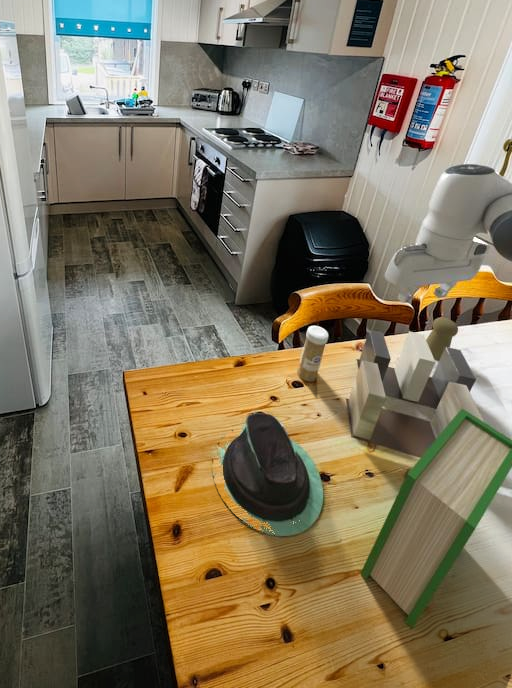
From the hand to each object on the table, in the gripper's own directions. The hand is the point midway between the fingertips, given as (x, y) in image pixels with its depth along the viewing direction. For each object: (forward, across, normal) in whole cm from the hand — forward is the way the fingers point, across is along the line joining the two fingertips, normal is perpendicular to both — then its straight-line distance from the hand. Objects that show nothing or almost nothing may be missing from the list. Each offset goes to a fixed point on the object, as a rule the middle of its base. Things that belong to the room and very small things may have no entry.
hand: (421, 298), depth 85 cm
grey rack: (+24, +2, -2) cm, 24 cm away
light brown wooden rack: (+24, -9, -12) cm, 29 cm away
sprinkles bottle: (+24, -19, +5) cm, 31 cm away
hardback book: (+24, -24, -31) cm, 46 cm away
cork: (+24, +18, +5) cm, 31 cm away
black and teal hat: (+24, -40, -15) cm, 49 cm away
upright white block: (+23, +2, -2) cm, 23 cm away
